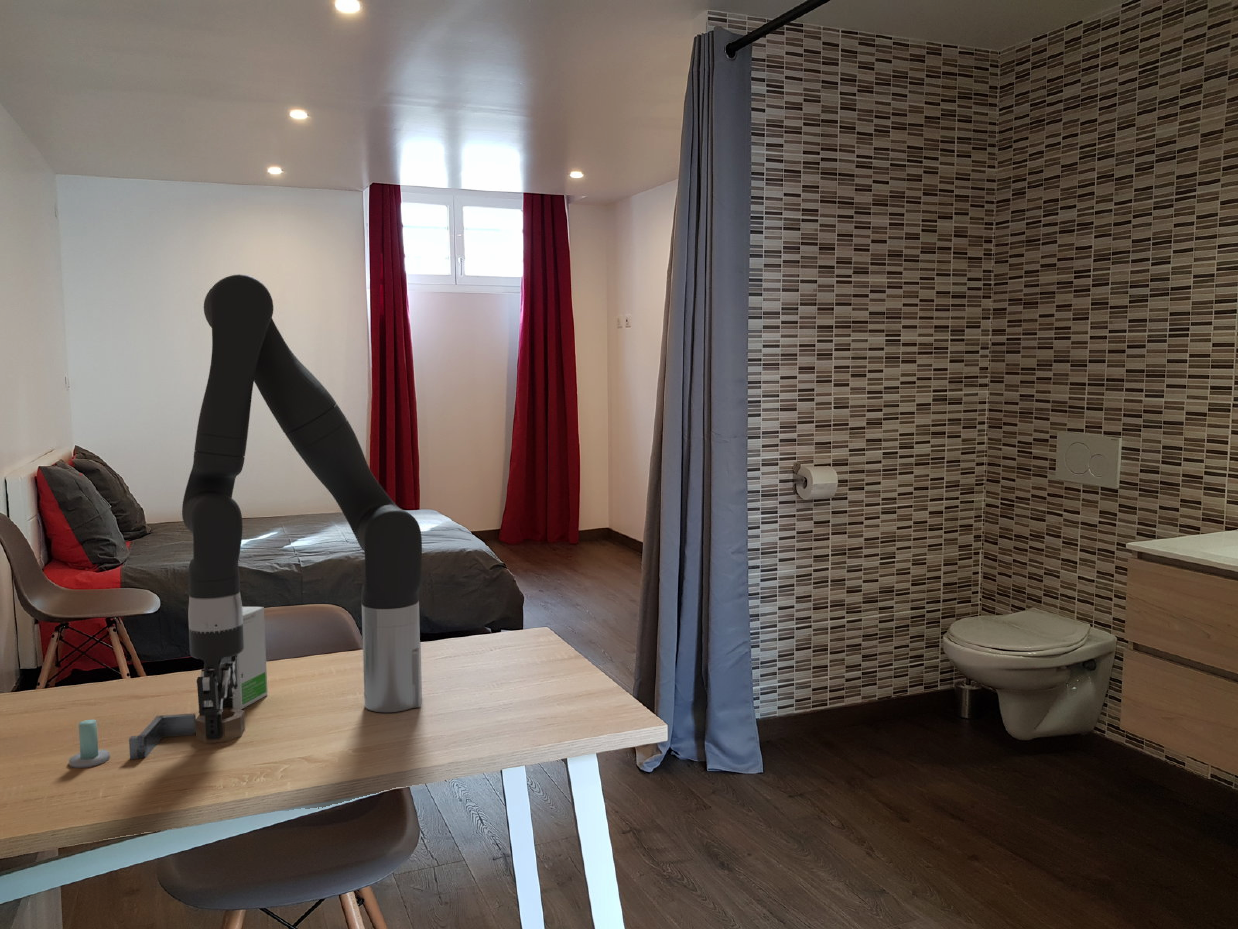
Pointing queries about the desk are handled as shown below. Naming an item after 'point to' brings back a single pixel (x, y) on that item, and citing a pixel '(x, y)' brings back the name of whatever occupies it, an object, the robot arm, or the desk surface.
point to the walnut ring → (223, 725)
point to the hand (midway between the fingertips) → (220, 729)
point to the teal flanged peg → (88, 747)
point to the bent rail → (161, 733)
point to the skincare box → (251, 660)
